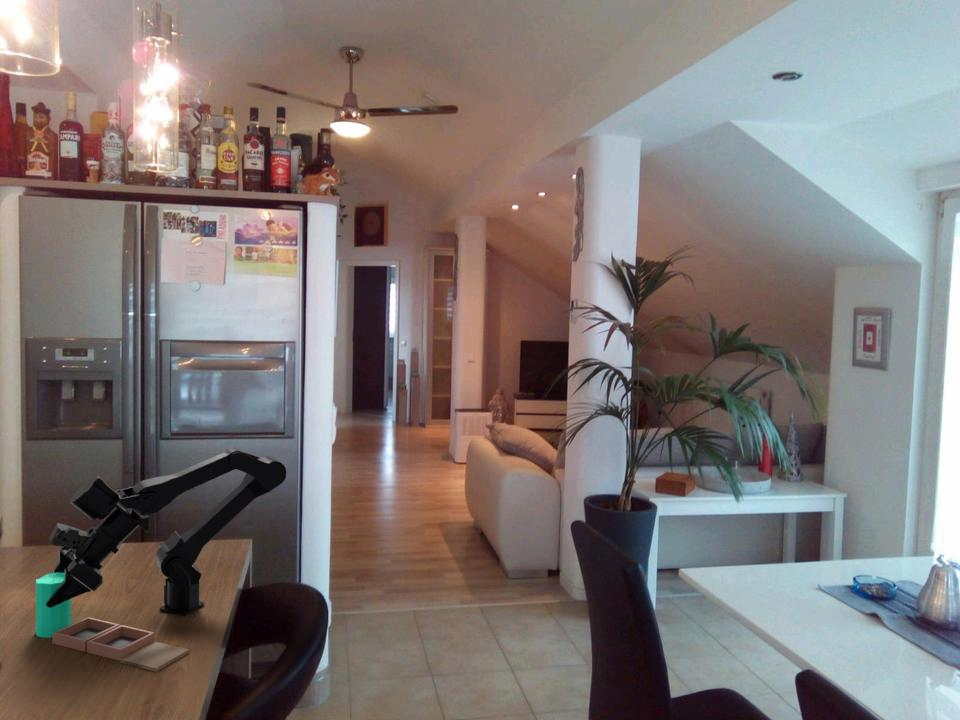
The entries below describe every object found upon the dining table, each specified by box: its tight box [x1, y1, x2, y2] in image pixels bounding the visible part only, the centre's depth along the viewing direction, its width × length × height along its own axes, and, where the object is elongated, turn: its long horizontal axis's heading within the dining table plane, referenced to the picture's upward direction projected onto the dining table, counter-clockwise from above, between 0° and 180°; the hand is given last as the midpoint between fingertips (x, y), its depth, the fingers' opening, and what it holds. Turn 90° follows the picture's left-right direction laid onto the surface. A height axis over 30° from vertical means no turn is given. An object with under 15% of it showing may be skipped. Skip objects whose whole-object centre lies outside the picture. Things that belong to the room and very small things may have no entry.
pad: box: [120, 641, 190, 673], centre depth 134 cm, size 8×8×1 cm
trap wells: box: [51, 616, 156, 662], centre depth 139 cm, size 16×8×2 cm, turn 70°
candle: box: [35, 569, 72, 638], centre depth 143 cm, size 6×6×12 cm
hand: (45, 597), depth 142 cm, fingers open, 9 cm apart
